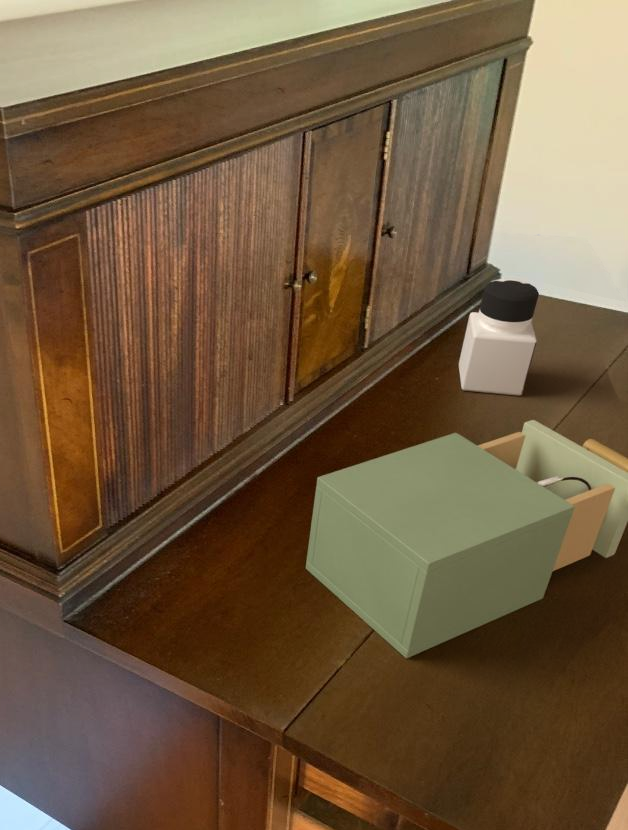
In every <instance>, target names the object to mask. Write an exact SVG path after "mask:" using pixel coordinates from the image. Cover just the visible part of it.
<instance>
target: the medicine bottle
mask: <svg viewBox="0 0 628 830" xmlns="http://www.w3.org/2000/svg"><path fill="white" fill-rule="evenodd" d="M539 295H540V293H539V290H538V289H537V288H536V286H535V285H533V284H531V283H529V282H527V281H525V280H521V279H517V278H509V277H508V278H499V279H494V280H491V281H489V282H488V283H487V284H486V285H485V286H484V289H483V292H482V297H481V302H480V305H479V306H480V307H479V309H478V312H476V311H475V312H474V311H472V312H470V314H469V315H468V321H467V324H466V330H465V333H464V338H463V342H462V347H461V351H460V357H459V360H458V370H459V378H460V387H461V390H462V391H465V392H475V393H476V392H477V393H486V394H487V393H488V394H498V395H508V396H518V397H519V396H522V395H523V393H524V389H525V386H526V383H527V382H526V381H527V379H528V376H529V375H528V374H529V371H530V368H531V364H532V362H533V361H532V360H533V356H534V353H535V349H536V346H537V342H538V341H537V337H536V334H535V330H534V326H533V323H532V322H533V319H534V318H533V317H534V314H535V310H536V307H537V303H538V299H539Z"/></svg>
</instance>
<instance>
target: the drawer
mask: <svg viewBox="0 0 628 830" xmlns="http://www.w3.org/2000/svg"><path fill="white" fill-rule="evenodd" d="M477 446H478V447H480V448H482V449H483V450H485V451H487V452H488V453H490V454H491V455H493V456H495V457H496V458H498V459H499V460H501V461H503V462H504V463H506V464H508V465H509V466H511V467H512V468H514V469H516V470H517V471H519V472H520V473H522V474H524V475H525V476H527V477H529V478H530V479H532V480H533V481H535V482H539V481H542V480H546V479H549V478H553V477H556V476H558V477H559V479H561V478H566V477H579V478H582V479H584V480H586V481H587V482H588V483H589V484H590V486H591V490H589V489H588V487H587V486H586V484H585V483H583V482H581V481H578V480H564V481H560V482H558V483H555V484H552V485H549V486H546V487H545V488H546V489H548V490H549V491H551V492H553V493H554V494H556V495H558V496H559V497H561V498H562V499H564V500H566V501H567V502H569V503H570V504H572V505H574V506H575V508H574V511H573V514H572V517H571V520H570V523H569V525H568V528H567V531H566V534H565V537H564V540H563V543H562V545H561V548H560V551H559V554H558V557H557V560H556V563H555V565H554V568H553V571H552V572H555V571H556V570H559V569H561V568H564V567H566V566H568V565H571V564H573V563H575V562H578V561H580V560H583V559H585V558H587V557H589V556H591V554H592V550H593V551H594V552H596V553H597V554H598V555H600V556H602V557H603V558H605V559H607V558H609V557H612V556H614V555H615V554H616V552H617V549H618V546H619V544H620V542H621V540H622V537H623V534H624V532H625V529H626V527H627V525H628V457H626V456H625V455H623V454H620V453H619V452H617V451H615V450H614V449H612V448H609V447H608V446H606V445H604V444H603V443H600V442H599V441H597V440H595V439H594V438H589V439H587V440H586V441H584V443H583V444H582V445H580V444H578V443H576V442H574V441H572V440H570V439H569V438H567V437H565V436H563V435H562V434H561V433H558V432H556V431H555V430H553V429H551V428H549V427H547V426H546V425H544V424H542V423H540V422H539V421H537V420H535V419H530V420H528V421H525V422H524V423H523V427H522V431H517V432H515V433H511V434H508V435H505V436H502V437H499V438H496V439H493V440H490V441H487V442H484V443H481V444H478V445H477Z"/></svg>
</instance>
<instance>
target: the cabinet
mask: <svg viewBox="0 0 628 830" xmlns="http://www.w3.org/2000/svg"><path fill="white" fill-rule="evenodd" d="M574 508H575V506H574V505H572V504H570V503H569V502H567V501H566V500H564V499H562V498H561V497H559V496H558V495H556V494H554V493H553V492H551V491H549V490H548V489H546V488H545V487H543V486H541V485H540V484H538V483H537V482H535V481H533V480H532V479H530V478H529V477H527V476H525V475H524V474H522V473H520V472H519V471H517V470H516V469H514V468H512V467H511V466H509V465H508V464H506V463H504V462H503V461H501V460H499V459H498V458H496V457H495V456H493V455H491V454H490V453H488V452H487V451H485V450H483V449H482V448H480V447H478V445H477V444H475V443H473V442H472V441H470V440H469V439H467V438H466V437H464V436H462V435H461V434H459V433H457V432H453V433H451V434H450V433H449V434H448V435H444V436H440V437H437V438H434V439H432V440H429V441H425V442H423V443H419V444H417V445H413V446H410V447H406V448H404V449H401V450H398V451H395V452H392V453H389V454H386V455H382V456H379V457H377V458H373V459H369V460H366V461H363V462H361V463H357V464H354V465H351V466H348V467H346V468H342V469H339V470H336V471H333V472H330V473H326V474H323V475H321V476H318V477H316V486H315V495H314V501H313V508H312V516H311V523H310V524H311V525H310V531H309V539H308V547H307V554H306V563H305V569H306V570H307V572H308V573H310V574H311V575H312V576H313V577H315V579H317V581H319V582H320V583H321V584H322V585H323V586H325V587H326V588H327V589H328V590H329V591H330V592H331V593H332V594H333V595H335V596H336V597H337V598H338V599H339V600H340V601H341V602H343V603H344V604H345V605H346V606H347V607H348V608H349V609H350V610H351V611H352V612H353V613H355V614H356V615H357V616H358V617H359V618H360V619H361V620H363V621H364V622H365V624H367V625H368V626H369V627H370V628H371V629H372V630H373V631H375V632H376V633H377V634H378V635H379V636H380V637H381V638H383V639H384V640H385V641H386V642H387V643H388V644H389V645H391V646H392V647H393V648H394V649H395V651H397V652H398V653H399V654H400V655H402V656H403V657H404V658H405V659H409V658H411V657H413V656H415V655H418V654H420V653H422V652H424V651H427V650H429V649H431V648H434V647H436V646H439V645H440V644H444V643H445V642H448V641H450V640H452V639H455V638H457V637H459V636H461V635H463V634H466V633H468V632H470V631H472V630H474V629H476V628H479V627H481V626H484V625H486V624H488V623H491V622H492V621H496V620H497V619H499V618H501V617H504V616H506V615H508V614H511V613H513V612H515V611H517V610H519V609H523V608H524V607H526V606H529V605H531V604H533V603H536V602H538V601H540V600H542V599H544V596H545V594H546V590H547V588H548V584H549V583H550V579H551V577H552V574H553V572H554V571H553V568H554V565H555V563H556V560H557V557H558V554H559V551H560V548H561V545H562V543H563V540H564V537H565V534H566V531H567V528H568V525H569V523H570V520H571V517H572V514H573V511H574Z"/></svg>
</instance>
